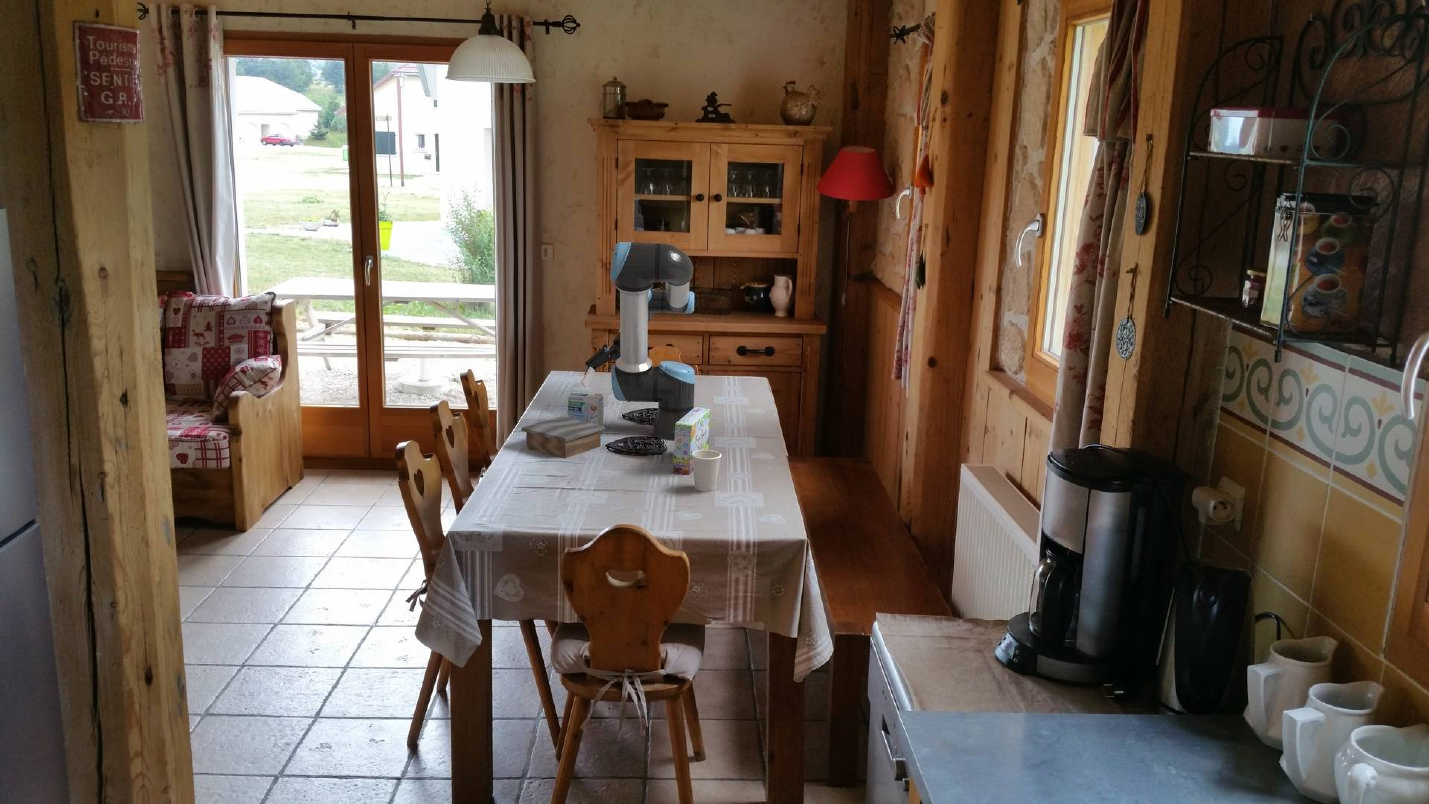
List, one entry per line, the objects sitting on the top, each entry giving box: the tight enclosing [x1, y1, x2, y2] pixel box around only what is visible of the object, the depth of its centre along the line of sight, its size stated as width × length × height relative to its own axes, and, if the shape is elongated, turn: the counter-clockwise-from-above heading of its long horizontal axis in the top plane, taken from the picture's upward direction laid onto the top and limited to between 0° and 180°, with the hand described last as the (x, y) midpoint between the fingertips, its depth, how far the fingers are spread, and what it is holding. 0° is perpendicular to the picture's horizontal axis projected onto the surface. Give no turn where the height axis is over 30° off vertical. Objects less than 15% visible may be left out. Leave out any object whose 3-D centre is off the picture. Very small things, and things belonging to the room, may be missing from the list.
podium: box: [521, 415, 606, 459], centre depth 332 cm, size 18×18×6 cm
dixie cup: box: [691, 449, 722, 493], centre depth 298 cm, size 8×8×10 cm
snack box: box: [672, 406, 711, 476], centre depth 319 cm, size 21×6×15 cm, turn 166°
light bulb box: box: [567, 391, 605, 426], centre depth 356 cm, size 11×7×11 cm, turn 80°
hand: (598, 388), depth 361 cm, fingers open, 13 cm apart
